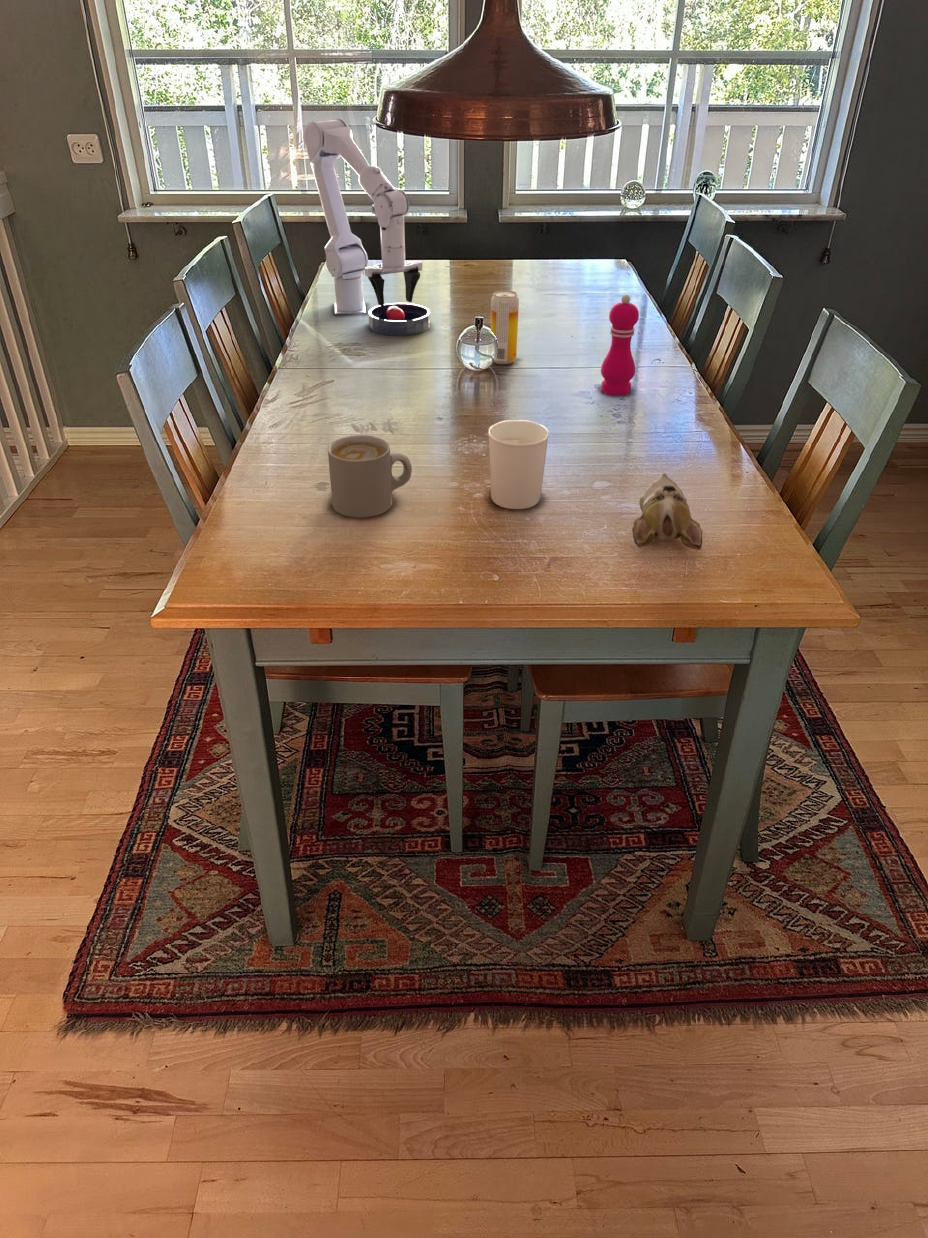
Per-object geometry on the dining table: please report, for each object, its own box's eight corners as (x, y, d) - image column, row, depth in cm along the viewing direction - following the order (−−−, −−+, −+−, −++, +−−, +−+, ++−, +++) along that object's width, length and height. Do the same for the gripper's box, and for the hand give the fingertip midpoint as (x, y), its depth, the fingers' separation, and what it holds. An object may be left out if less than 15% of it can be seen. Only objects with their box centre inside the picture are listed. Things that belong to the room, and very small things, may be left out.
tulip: (383, 320, 228) (383, 304, 225) (398, 318, 229) (397, 302, 227) (401, 333, 220) (400, 316, 217) (416, 331, 221) (415, 314, 219)
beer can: (516, 356, 208) (519, 290, 200) (515, 365, 203) (518, 298, 195) (490, 355, 209) (492, 289, 200) (488, 364, 204) (490, 296, 195)
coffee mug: (331, 518, 145) (326, 462, 139) (333, 490, 153) (328, 435, 147) (414, 515, 146) (413, 459, 140) (411, 487, 154) (409, 433, 148)
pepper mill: (631, 398, 188) (643, 301, 176) (597, 395, 189) (606, 298, 178) (633, 385, 194) (645, 291, 182) (600, 383, 195) (609, 288, 183)
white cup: (509, 479, 157) (512, 414, 150) (555, 496, 152) (560, 430, 145) (474, 499, 150) (475, 432, 144) (521, 518, 145) (525, 449, 139)
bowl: (368, 319, 230) (367, 303, 228) (427, 317, 232) (426, 302, 229) (370, 338, 218) (370, 322, 215) (432, 336, 219) (432, 320, 217)
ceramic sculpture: (699, 465, 142) (712, 516, 130) (691, 512, 147) (702, 564, 136) (632, 462, 142) (638, 513, 131) (626, 509, 148) (631, 561, 136)
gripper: (371, 252, 210) (374, 310, 218) (427, 245, 215) (428, 303, 223) (360, 245, 215) (363, 303, 223) (414, 239, 220) (416, 296, 228)
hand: (395, 302), depth 223 cm, fingers open, 7 cm apart
